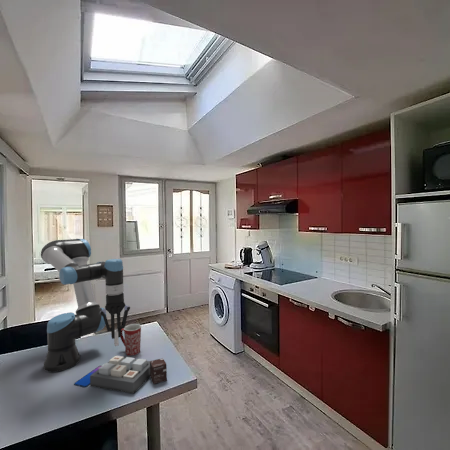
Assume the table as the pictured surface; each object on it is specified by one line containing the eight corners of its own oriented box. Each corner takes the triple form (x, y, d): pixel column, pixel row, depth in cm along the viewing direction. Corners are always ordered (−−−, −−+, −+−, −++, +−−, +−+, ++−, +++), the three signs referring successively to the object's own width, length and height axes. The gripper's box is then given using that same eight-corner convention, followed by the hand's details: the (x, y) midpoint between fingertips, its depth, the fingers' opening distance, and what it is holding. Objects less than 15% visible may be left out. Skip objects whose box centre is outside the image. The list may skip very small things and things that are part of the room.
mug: (145, 349, 142) (145, 324, 142) (133, 358, 133) (133, 331, 133) (127, 346, 147) (126, 322, 146) (115, 353, 138) (114, 328, 138)
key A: (109, 367, 119) (109, 360, 119) (115, 361, 123) (115, 355, 123) (117, 368, 118) (117, 361, 118) (124, 363, 122) (123, 356, 122)
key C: (123, 383, 109) (123, 375, 109) (129, 377, 114) (129, 369, 114) (132, 384, 108) (132, 377, 108) (138, 378, 112) (138, 371, 112)
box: (152, 384, 111) (152, 367, 111) (150, 377, 116) (149, 361, 116) (167, 380, 114) (166, 363, 114) (163, 373, 119) (163, 357, 119)
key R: (120, 368, 117) (120, 362, 117) (126, 363, 121) (126, 357, 121) (129, 369, 116) (129, 363, 116) (135, 364, 120) (135, 358, 120)
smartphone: (72, 383, 112) (100, 365, 126) (72, 385, 112) (100, 366, 126) (85, 387, 110) (112, 367, 124) (85, 389, 110) (112, 369, 124)
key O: (99, 375, 112) (98, 368, 112) (106, 369, 117) (106, 362, 117) (107, 376, 111) (107, 369, 111) (114, 370, 116) (114, 364, 116)
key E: (132, 370, 116) (132, 363, 116) (138, 365, 120) (138, 358, 120) (141, 371, 114) (141, 364, 114) (146, 366, 119) (146, 359, 119)
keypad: (90, 386, 111) (89, 375, 111) (115, 366, 126) (115, 356, 126) (133, 393, 105) (133, 382, 105) (154, 371, 121) (154, 361, 121)
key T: (110, 377, 111) (110, 369, 111) (117, 371, 115) (117, 364, 115) (119, 378, 110) (119, 370, 110) (126, 372, 114) (126, 365, 114)
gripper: (99, 297, 113) (101, 352, 114) (131, 292, 120) (132, 344, 120) (98, 293, 120) (100, 345, 120) (128, 289, 126) (129, 338, 127)
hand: (116, 344), depth 120 cm, fingers closed
